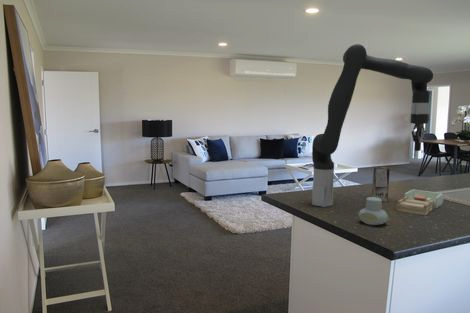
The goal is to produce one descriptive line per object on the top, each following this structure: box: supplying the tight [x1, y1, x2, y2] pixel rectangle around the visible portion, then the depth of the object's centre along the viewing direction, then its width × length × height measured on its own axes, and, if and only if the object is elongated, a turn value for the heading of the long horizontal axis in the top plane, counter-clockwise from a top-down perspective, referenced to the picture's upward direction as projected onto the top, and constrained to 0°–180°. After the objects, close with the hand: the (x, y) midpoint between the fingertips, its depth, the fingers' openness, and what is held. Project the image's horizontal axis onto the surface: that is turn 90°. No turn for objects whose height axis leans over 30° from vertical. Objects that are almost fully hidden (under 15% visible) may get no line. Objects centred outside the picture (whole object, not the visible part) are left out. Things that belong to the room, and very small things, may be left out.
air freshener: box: [358, 196, 389, 226], centre depth 149 cm, size 11×8×10 cm
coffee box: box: [371, 166, 391, 203], centre depth 188 cm, size 9×6×16 cm
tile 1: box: [414, 194, 427, 201], centre depth 177 cm, size 5×5×2 cm
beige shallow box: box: [395, 196, 435, 216], centre depth 170 cm, size 14×12×4 cm
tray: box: [403, 188, 444, 210], centre depth 181 cm, size 13×14×5 cm
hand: (417, 150), depth 175 cm, fingers closed
